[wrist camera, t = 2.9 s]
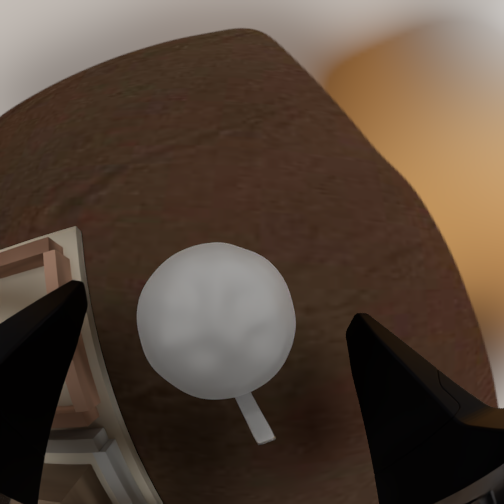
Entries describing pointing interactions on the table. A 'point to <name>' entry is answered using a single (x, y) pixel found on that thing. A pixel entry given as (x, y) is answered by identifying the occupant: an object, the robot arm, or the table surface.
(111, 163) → the table surface
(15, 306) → the grey-brown divided tray
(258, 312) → the milkshake
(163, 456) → the table surface
